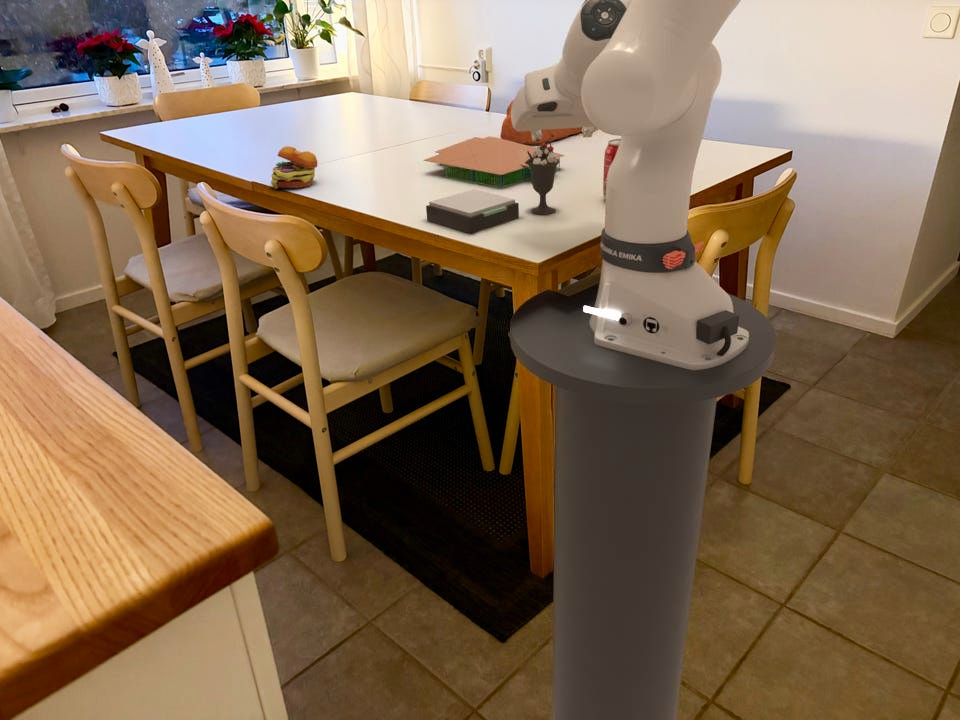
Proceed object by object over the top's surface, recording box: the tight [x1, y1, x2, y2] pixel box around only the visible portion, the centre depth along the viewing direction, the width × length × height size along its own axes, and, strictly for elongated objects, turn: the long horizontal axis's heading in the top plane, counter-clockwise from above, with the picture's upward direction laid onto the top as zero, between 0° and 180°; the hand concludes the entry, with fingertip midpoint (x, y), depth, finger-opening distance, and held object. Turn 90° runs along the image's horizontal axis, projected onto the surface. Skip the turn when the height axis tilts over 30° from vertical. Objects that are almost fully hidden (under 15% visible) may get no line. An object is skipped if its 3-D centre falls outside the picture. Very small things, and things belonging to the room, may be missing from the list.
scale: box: [425, 188, 520, 234], centre depth 146 cm, size 13×13×4 cm
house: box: [423, 136, 565, 189], centre depth 180 cm, size 23×33×8 cm
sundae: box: [525, 135, 561, 215], centre depth 146 cm, size 7×7×15 cm
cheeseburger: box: [270, 145, 318, 190], centre depth 176 cm, size 10×11×10 cm
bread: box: [499, 98, 583, 145], centre depth 215 cm, size 16×31×13 cm, turn 140°
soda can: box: [602, 138, 621, 200], centre depth 152 cm, size 7×7×12 cm
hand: (561, 136), depth 134 cm, fingers open, 8 cm apart
